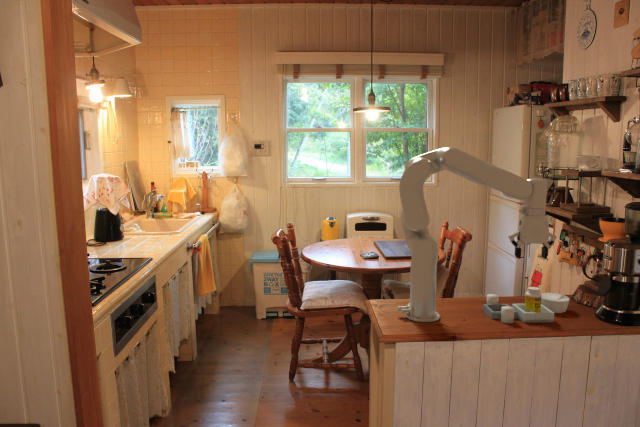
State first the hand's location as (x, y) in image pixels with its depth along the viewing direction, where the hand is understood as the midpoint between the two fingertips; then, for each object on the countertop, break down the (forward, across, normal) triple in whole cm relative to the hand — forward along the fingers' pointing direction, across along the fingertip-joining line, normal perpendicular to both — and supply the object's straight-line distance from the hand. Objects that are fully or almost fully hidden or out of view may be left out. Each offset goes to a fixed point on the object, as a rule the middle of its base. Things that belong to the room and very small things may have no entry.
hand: (531, 257), depth 179 cm
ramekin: (+23, +14, +8) cm, 28 cm away
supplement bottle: (+22, +2, -1) cm, 22 cm away
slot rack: (+23, -9, +3) cm, 25 cm away
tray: (+23, +2, -1) cm, 23 cm away
